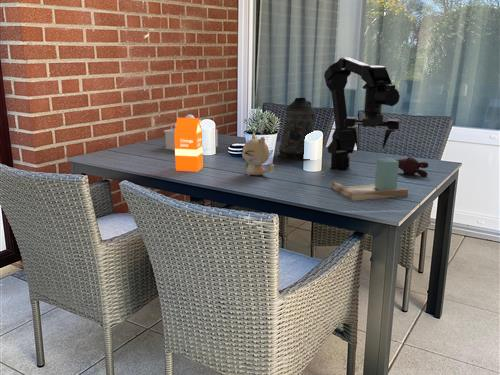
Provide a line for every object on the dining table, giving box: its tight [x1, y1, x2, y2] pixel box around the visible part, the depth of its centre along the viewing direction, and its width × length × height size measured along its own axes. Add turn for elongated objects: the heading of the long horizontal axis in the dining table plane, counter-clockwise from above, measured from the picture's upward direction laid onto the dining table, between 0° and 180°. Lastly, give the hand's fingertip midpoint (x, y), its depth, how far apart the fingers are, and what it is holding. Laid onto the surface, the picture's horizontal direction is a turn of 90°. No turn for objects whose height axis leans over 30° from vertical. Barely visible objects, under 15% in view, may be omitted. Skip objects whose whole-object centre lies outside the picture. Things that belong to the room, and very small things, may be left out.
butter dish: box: [163, 113, 219, 151], centre depth 234 cm, size 18×18×16 cm
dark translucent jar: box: [278, 97, 316, 161], centre depth 217 cm, size 16×19×25 cm
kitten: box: [241, 132, 275, 176], centre depth 186 cm, size 15×10×15 cm
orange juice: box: [174, 117, 204, 173], centre depth 193 cm, size 8×9×20 cm
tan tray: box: [331, 181, 409, 201], centre depth 164 cm, size 15×20×2 cm
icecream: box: [395, 156, 430, 177], centre depth 188 cm, size 7×7×15 cm
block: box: [374, 158, 399, 190], centre depth 165 cm, size 5×5×10 cm
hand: (370, 147), depth 177 cm, fingers open, 9 cm apart
